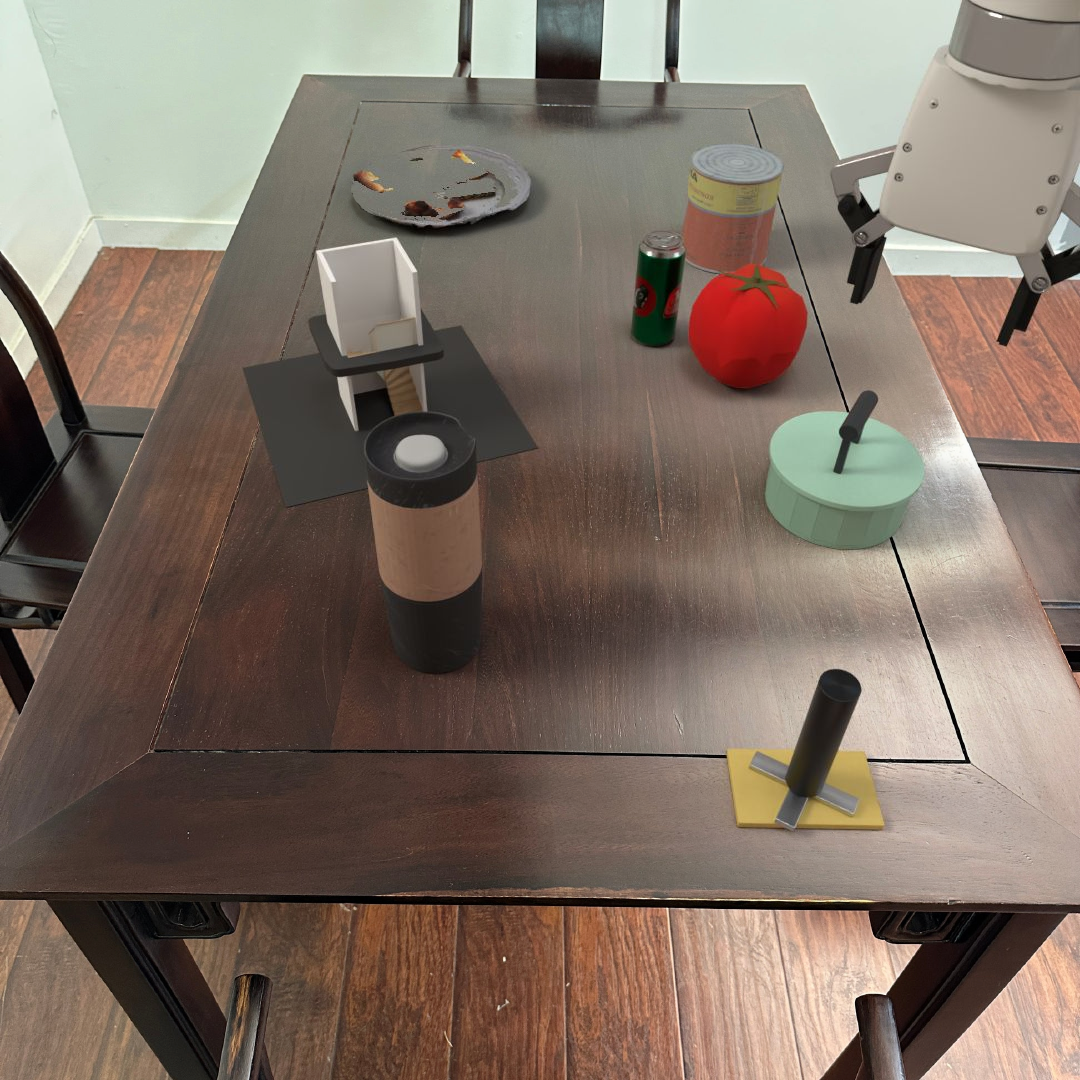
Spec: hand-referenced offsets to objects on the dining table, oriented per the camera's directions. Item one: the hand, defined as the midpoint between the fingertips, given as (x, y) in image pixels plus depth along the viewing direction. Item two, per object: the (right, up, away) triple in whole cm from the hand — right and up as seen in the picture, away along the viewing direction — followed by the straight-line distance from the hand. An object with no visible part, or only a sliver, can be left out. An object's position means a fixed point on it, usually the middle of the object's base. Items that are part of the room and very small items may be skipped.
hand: (931, 315), depth 65 cm
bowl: (+1, -12, +26) cm, 28 cm away
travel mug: (-34, -23, +13) cm, 44 cm away
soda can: (-13, +8, +46) cm, 49 cm away
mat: (-8, -33, +4) cm, 34 cm away
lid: (+1, -8, +23) cm, 24 cm away
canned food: (-2, +22, +61) cm, 65 cm away
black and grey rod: (-8, -32, +3) cm, 33 cm away
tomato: (-4, +4, +42) cm, 42 cm away
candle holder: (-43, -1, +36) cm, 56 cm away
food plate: (-40, +33, +72) cm, 89 cm away
